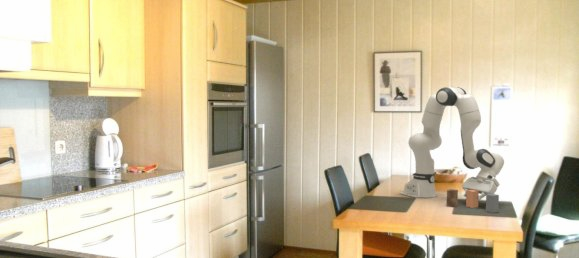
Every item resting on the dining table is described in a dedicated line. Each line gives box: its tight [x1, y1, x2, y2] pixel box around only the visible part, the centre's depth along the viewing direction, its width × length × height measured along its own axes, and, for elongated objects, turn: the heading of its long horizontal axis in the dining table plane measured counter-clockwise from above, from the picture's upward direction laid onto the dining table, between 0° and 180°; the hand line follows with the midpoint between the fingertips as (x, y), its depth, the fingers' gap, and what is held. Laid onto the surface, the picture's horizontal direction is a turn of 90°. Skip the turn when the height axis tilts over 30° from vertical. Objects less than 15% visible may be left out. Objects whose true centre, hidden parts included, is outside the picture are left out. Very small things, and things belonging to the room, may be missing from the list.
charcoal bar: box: [485, 193, 500, 214], centre depth 268 cm, size 4×4×9 cm
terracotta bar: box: [465, 190, 480, 209], centre depth 281 cm, size 4×4×9 cm
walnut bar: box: [446, 188, 459, 208], centre depth 283 cm, size 4×4×9 cm
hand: (471, 197), depth 280 cm, fingers open, 8 cm apart
